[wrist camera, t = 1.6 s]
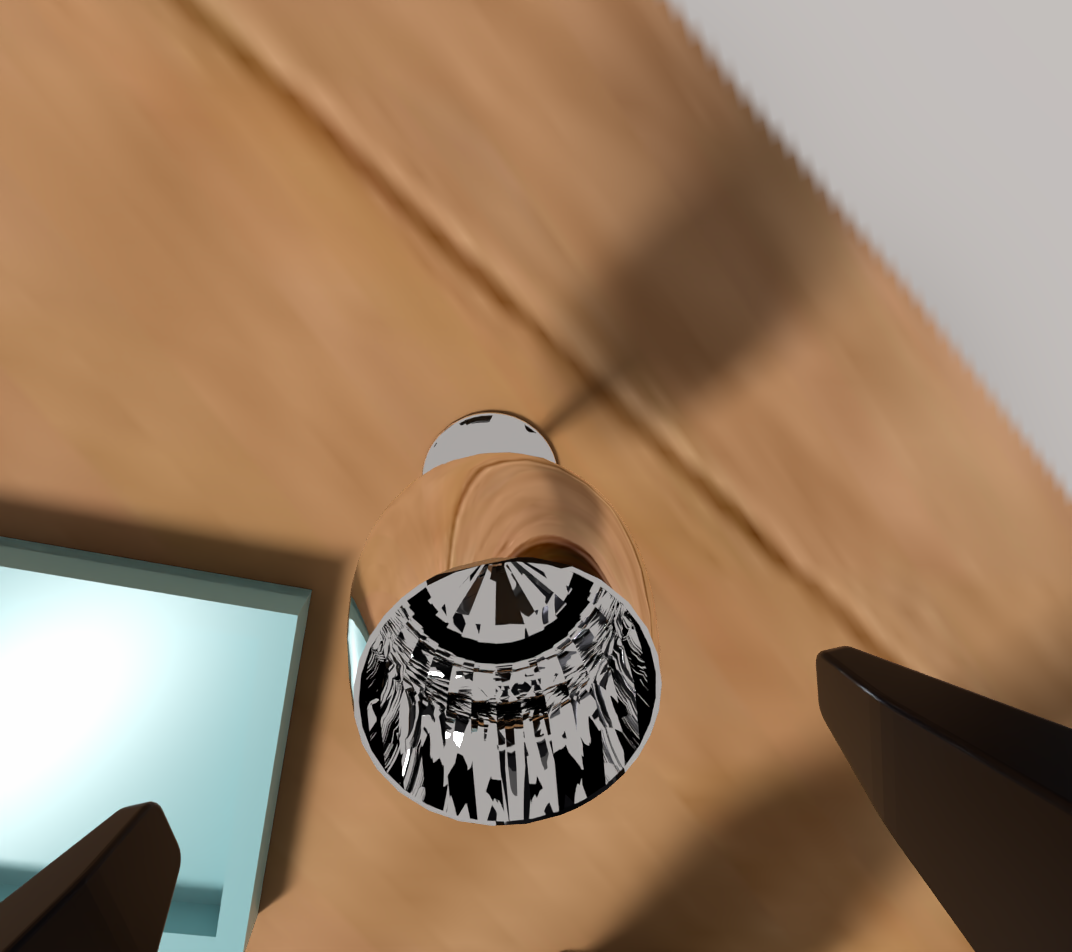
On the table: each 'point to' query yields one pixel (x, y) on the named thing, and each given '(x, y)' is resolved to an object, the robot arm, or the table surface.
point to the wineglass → (501, 632)
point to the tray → (146, 720)
